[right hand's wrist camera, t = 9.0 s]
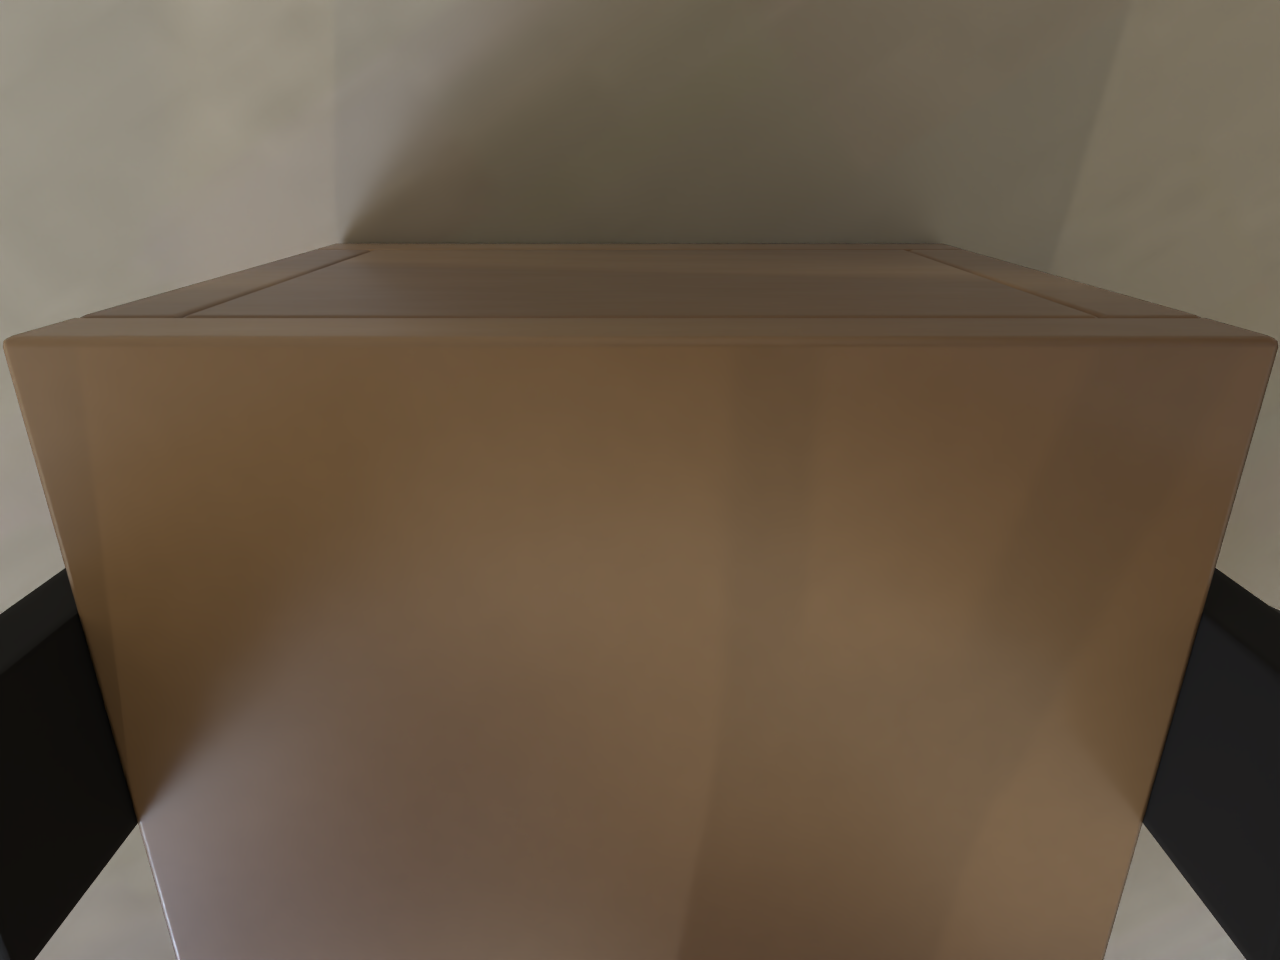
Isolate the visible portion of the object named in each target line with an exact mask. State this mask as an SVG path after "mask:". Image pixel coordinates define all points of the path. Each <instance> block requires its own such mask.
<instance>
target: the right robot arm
mask: <svg viewBox="0 0 1280 960" xmlns="http://www.w3.org/2000/svg"><path fill="white" fill-rule="evenodd" d="M137 823H138V821H137V818H136V814H135V811H134V807H133V804H132V800H131V797H130V793H129V789H128V786H127V782H126V779H125V775H124V772H123V768H122V765H121V761H120V758H119V754H118V751H117V747H116V744H115V740H114V737H113V733H112V730H111V726H110V723H109V719H108V715H107V712H106V708H105V705H104V701H103V698H102V694H101V691H100V687H99V684H98V680H97V677H96V673H95V670H94V666H93V663H92V659H91V656H90V652H89V649H88V645H87V641H86V638H85V634H84V631H83V627H82V624H81V620H80V617H79V613H78V610H77V606H76V603H75V599H74V596H73V592H72V589H71V585H70V582H69V578H68V575H67V571H66V568H65V569H63V570H62V571H61V572H59V573H58V574H56V575H55V576H54V577H52V578H51V579H49V580H48V581H46V582H45V583H44V584H42V585H41V586H39V587H38V588H37V589H35V590H34V591H32V592H31V593H30V594H28V595H27V596H25V597H24V598H23V599H21V600H20V601H18V602H17V603H16V604H14V605H13V606H11V607H10V608H9V609H7V610H6V611H4V612H3V613H1V614H0V960H35V958H36V957H37V956H38V954H39V953H40V952H41V950H42V949H43V948H44V946H45V945H46V944H47V942H48V941H49V940H50V938H51V937H52V936H53V934H54V933H55V932H56V930H57V929H58V928H59V926H60V925H61V924H62V923H63V921H64V920H65V919H66V917H67V916H68V915H69V913H70V912H71V911H72V909H73V908H74V907H75V905H76V904H77V903H78V901H79V900H80V899H81V897H82V896H83V895H84V893H85V892H86V891H87V889H88V888H89V887H90V886H91V884H92V883H93V882H94V880H95V879H96V878H97V876H98V875H99V874H100V872H101V871H102V870H103V868H104V867H105V866H106V864H107V863H108V862H109V860H110V859H111V858H112V856H113V855H114V854H115V852H116V851H117V850H118V849H119V847H120V846H121V845H122V843H123V842H124V841H125V839H126V838H127V837H128V835H129V834H130V833H131V831H132V830H133V829H134V827H135V826H136V825H137ZM1143 823H1144V825H1145V826H1146V827H1147V829H1148V830H1149V831H1150V833H1151V834H1152V835H1153V837H1154V838H1155V839H1156V841H1157V842H1158V843H1159V845H1160V846H1161V847H1162V849H1163V850H1164V851H1165V853H1166V854H1167V855H1168V857H1169V858H1170V859H1171V860H1172V862H1173V863H1174V864H1175V866H1176V867H1177V868H1178V870H1179V871H1180V872H1181V874H1182V875H1183V876H1184V878H1185V879H1186V880H1187V882H1188V883H1189V884H1190V886H1191V887H1192V888H1193V890H1194V891H1195V892H1196V894H1197V895H1198V896H1199V897H1200V899H1201V900H1202V901H1203V903H1204V904H1205V905H1206V907H1207V908H1208V909H1209V911H1210V912H1211V913H1212V915H1213V916H1214V917H1215V919H1216V920H1217V921H1218V923H1219V924H1220V925H1221V927H1222V928H1223V929H1224V931H1225V932H1226V933H1227V934H1228V936H1229V937H1230V938H1231V940H1232V941H1233V942H1234V944H1235V945H1236V946H1237V948H1238V949H1239V950H1240V952H1241V953H1242V954H1243V956H1244V957H1245V958H1246V960H1280V611H1279V610H1277V609H1275V608H1273V607H1271V606H1268V605H1267V604H1265V603H1264V602H1263V601H1261V600H1260V599H1258V598H1257V597H1256V596H1254V595H1253V594H1251V593H1250V592H1249V591H1247V590H1246V589H1244V588H1243V587H1242V586H1240V585H1239V584H1237V583H1236V582H1235V581H1233V580H1232V579H1230V578H1229V577H1227V576H1226V575H1225V574H1223V573H1222V572H1220V571H1219V570H1218V569H1216V568H1215V570H1214V573H1213V577H1212V580H1211V584H1210V587H1209V591H1208V594H1207V598H1206V601H1205V605H1204V608H1203V612H1202V615H1201V619H1200V622H1199V626H1198V630H1197V633H1196V637H1195V640H1194V644H1193V647H1192V651H1191V654H1190V658H1189V661H1188V665H1187V668H1186V672H1185V675H1184V679H1183V682H1182V686H1181V689H1180V693H1179V696H1178V700H1177V703H1176V707H1175V710H1174V714H1173V717H1172V721H1171V724H1170V728H1169V731H1168V735H1167V738H1166V742H1165V745H1164V749H1163V752H1162V756H1161V759H1160V763H1159V766H1158V770H1157V773H1156V777H1155V780H1154V784H1153V787H1152V791H1151V794H1150V798H1149V801H1148V805H1147V808H1146V812H1145V815H1144V819H1143Z"/></svg>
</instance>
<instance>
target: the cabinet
mask: <svg viewBox="0 0 1280 960" xmlns="http://www.w3.org/2000/svg"><path fill="white" fill-rule="evenodd" d="M3 349H4V353H5V356H6V360H7V363H8V367H9V370H10V374H11V377H12V381H13V384H14V388H15V391H16V395H17V398H18V402H19V405H20V409H21V412H22V416H23V419H24V423H25V427H26V430H27V434H28V437H29V441H30V444H31V448H32V451H33V455H34V458H35V462H36V465H37V469H38V472H39V476H40V479H41V483H42V486H43V490H44V493H45V497H46V501H47V504H48V508H49V511H50V515H51V518H52V522H53V525H54V529H55V532H56V536H57V539H58V543H59V546H60V550H61V553H62V557H63V560H64V564H65V567H66V571H67V575H68V578H69V582H70V585H71V589H72V592H73V596H74V599H75V603H76V606H77V610H78V613H79V617H80V620H81V624H82V627H83V631H84V634H85V638H86V641H87V645H88V649H89V652H90V656H91V659H92V663H93V666H94V670H95V673H96V677H97V680H98V684H99V687H100V691H101V694H102V698H103V701H104V705H105V708H106V712H107V715H108V719H109V723H110V726H111V730H112V733H113V737H114V740H115V744H116V747H117V751H118V754H119V758H120V761H121V765H122V768H123V772H124V775H125V779H126V782H127V786H128V789H129V793H130V797H131V800H132V804H133V807H134V811H135V814H136V818H137V821H138V825H139V828H140V832H141V835H142V839H143V842H144V846H145V849H146V853H147V856H148V860H149V863H150V867H151V871H152V874H153V878H154V881H155V885H156V888H157V892H158V895H159V899H160V902H161V906H162V909H163V913H164V916H165V920H166V923H167V927H168V930H169V934H170V937H171V941H172V945H173V948H174V952H175V955H176V959H177V960H1103V959H1104V956H1105V952H1106V949H1107V945H1108V942H1109V938H1110V935H1111V931H1112V928H1113V924H1114V921H1115V917H1116V914H1117V910H1118V907H1119V903H1120V899H1121V896H1122V892H1123V889H1124V885H1125V882H1126V878H1127V875H1128V871H1129V868H1130V864H1131V861H1132V857H1133V854H1134V850H1135V847H1136V843H1137V840H1138V836H1139V833H1140V829H1141V826H1142V822H1143V819H1144V815H1145V812H1146V808H1147V805H1148V801H1149V798H1150V794H1151V791H1152V787H1153V784H1154V780H1155V777H1156V773H1157V770H1158V766H1159V763H1160V759H1161V756H1162V752H1163V749H1164V745H1165V742H1166V738H1167V735H1168V731H1169V728H1170V724H1171V721H1172V717H1173V714H1174V710H1175V707H1176V703H1177V700H1178V696H1179V693H1180V689H1181V686H1182V682H1183V679H1184V675H1185V672H1186V668H1187V665H1188V661H1189V658H1190V654H1191V651H1192V647H1193V644H1194V640H1195V637H1196V633H1197V630H1198V626H1199V622H1200V619H1201V615H1202V612H1203V608H1204V605H1205V601H1206V598H1207V594H1208V591H1209V587H1210V584H1211V580H1212V577H1213V573H1214V570H1215V566H1216V563H1217V559H1218V556H1219V552H1220V549H1221V545H1222V542H1223V538H1224V535H1225V531H1226V528H1227V524H1228V521H1229V517H1230V514H1231V510H1232V507H1233V503H1234V500H1235V496H1236V493H1237V489H1238V486H1239V482H1240V479H1241V475H1242V472H1243V468H1244V465H1245V461H1246V458H1247V454H1248V451H1249V447H1250V444H1251V440H1252V437H1253V433H1254V430H1255V426H1256V423H1257V419H1258V416H1259V412H1260V409H1261V405H1262V402H1263V398H1264V395H1265V391H1266V388H1267V384H1268V381H1269V377H1270V374H1271V370H1272V367H1273V363H1274V360H1275V356H1276V353H1277V349H1278V343H1277V341H1276V340H1275V339H1274V338H1272V337H1270V336H1267V335H1264V334H1260V333H1256V332H1253V331H1249V330H1246V329H1242V328H1239V327H1235V326H1232V325H1228V324H1225V323H1221V322H1218V321H1214V320H1210V319H1207V318H1201V317H1198V316H1196V315H1193V314H1190V313H1186V312H1183V311H1179V310H1175V309H1172V308H1168V307H1165V306H1161V305H1158V304H1154V303H1151V302H1147V301H1144V300H1140V299H1136V298H1133V297H1129V296H1126V295H1122V294H1119V293H1115V292H1112V291H1108V290H1105V289H1101V288H1097V287H1094V286H1090V285H1087V284H1083V283H1080V282H1076V281H1073V280H1069V279H1066V278H1062V277H1058V276H1055V275H1051V274H1048V273H1044V272H1041V271H1037V270H1034V269H1030V268H1026V267H1023V266H1019V265H1016V264H1012V263H1009V262H1005V261H1002V260H998V259H995V258H991V257H987V256H984V255H980V254H977V253H973V252H970V251H966V250H962V249H960V248H956V247H952V246H949V245H945V244H333V245H330V246H326V247H323V248H319V249H317V250H313V251H309V252H306V253H302V254H299V255H295V256H292V257H288V258H285V259H281V260H278V261H274V262H271V263H267V264H264V265H260V266H257V267H253V268H249V269H246V270H242V271H239V272H235V273H232V274H228V275H225V276H221V277H218V278H214V279H211V280H207V281H204V282H200V283H197V284H193V285H190V286H186V287H183V288H179V289H176V290H172V291H168V292H165V293H161V294H158V295H154V296H151V297H147V298H144V299H140V300H137V301H133V302H130V303H126V304H123V305H119V306H116V307H112V308H109V309H105V310H102V311H98V312H94V313H91V314H87V315H85V316H83V317H81V318H73V319H70V320H66V321H63V322H59V323H56V324H52V325H49V326H45V327H42V328H38V329H34V330H31V331H27V332H24V333H20V334H17V335H13V336H11V337H9V338H7V339H5V340H4V343H3Z"/></svg>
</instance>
